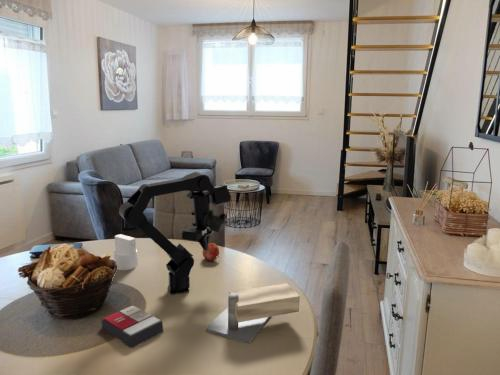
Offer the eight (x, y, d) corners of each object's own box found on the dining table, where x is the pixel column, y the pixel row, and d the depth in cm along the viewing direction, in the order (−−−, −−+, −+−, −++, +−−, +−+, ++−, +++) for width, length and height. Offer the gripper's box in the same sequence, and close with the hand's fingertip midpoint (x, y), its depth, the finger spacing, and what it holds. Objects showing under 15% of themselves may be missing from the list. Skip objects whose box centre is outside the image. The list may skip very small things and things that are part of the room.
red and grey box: (133, 303, 128) (162, 318, 119) (134, 316, 129) (163, 332, 120) (100, 317, 120) (129, 334, 111) (102, 330, 121) (131, 349, 111)
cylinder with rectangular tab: (142, 264, 166) (141, 236, 163) (125, 272, 158) (123, 242, 156) (127, 259, 171) (126, 231, 168) (109, 266, 163) (108, 238, 160)
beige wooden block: (223, 320, 124) (224, 289, 122) (285, 309, 131) (286, 280, 129) (232, 336, 116) (233, 303, 114) (298, 324, 123) (299, 293, 121)
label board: (205, 330, 120) (205, 327, 120) (244, 293, 143) (244, 290, 143) (248, 343, 114) (248, 340, 114) (282, 302, 137) (282, 299, 137)
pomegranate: (210, 259, 177) (194, 250, 171) (220, 245, 178) (204, 236, 172) (218, 267, 171) (202, 258, 165) (228, 253, 172) (212, 243, 166)
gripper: (206, 219, 132) (210, 263, 136) (235, 202, 148) (237, 243, 152) (178, 215, 137) (182, 258, 141) (208, 200, 153) (212, 239, 157)
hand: (205, 249), depth 147 cm, fingers closed
